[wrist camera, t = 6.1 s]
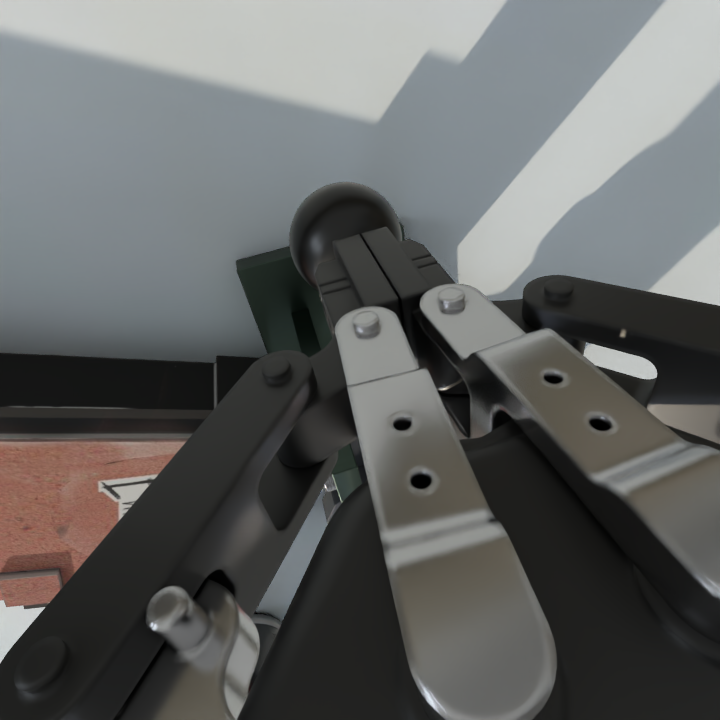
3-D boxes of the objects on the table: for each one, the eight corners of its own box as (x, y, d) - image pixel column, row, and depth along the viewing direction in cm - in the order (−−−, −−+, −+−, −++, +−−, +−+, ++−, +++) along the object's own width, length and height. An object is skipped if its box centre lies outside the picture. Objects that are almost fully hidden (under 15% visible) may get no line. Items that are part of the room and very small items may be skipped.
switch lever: (270, 184, 14) (282, 221, 12) (376, 157, 15) (411, 187, 12) (348, 458, 22) (366, 518, 20) (416, 437, 23) (442, 493, 20)
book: (-180, 557, 30) (-237, 639, 26) (-335, 326, 20) (-462, 403, 17) (242, 528, 39) (245, 586, 35) (271, 358, 29) (280, 413, 25)
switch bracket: (235, 260, 25) (251, 432, 15) (396, 217, 26) (511, 354, 16) (289, 404, 32) (323, 585, 22) (414, 367, 33) (501, 526, 23)
